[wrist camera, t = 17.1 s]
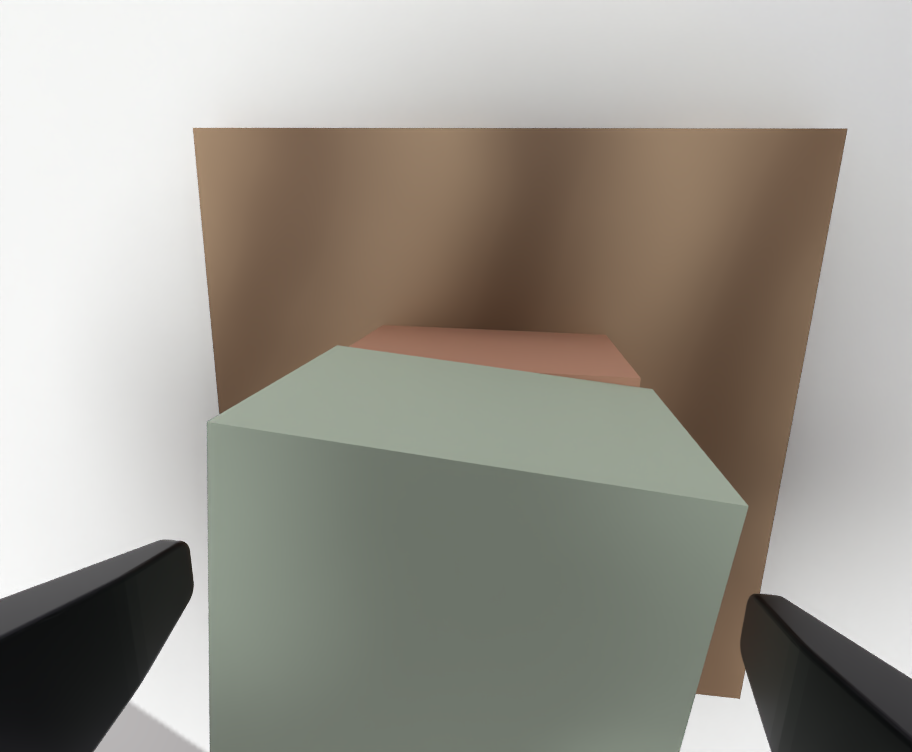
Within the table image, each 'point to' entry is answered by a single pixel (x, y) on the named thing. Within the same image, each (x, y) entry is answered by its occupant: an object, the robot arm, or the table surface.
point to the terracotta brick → (510, 350)
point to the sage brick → (458, 562)
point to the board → (541, 269)
